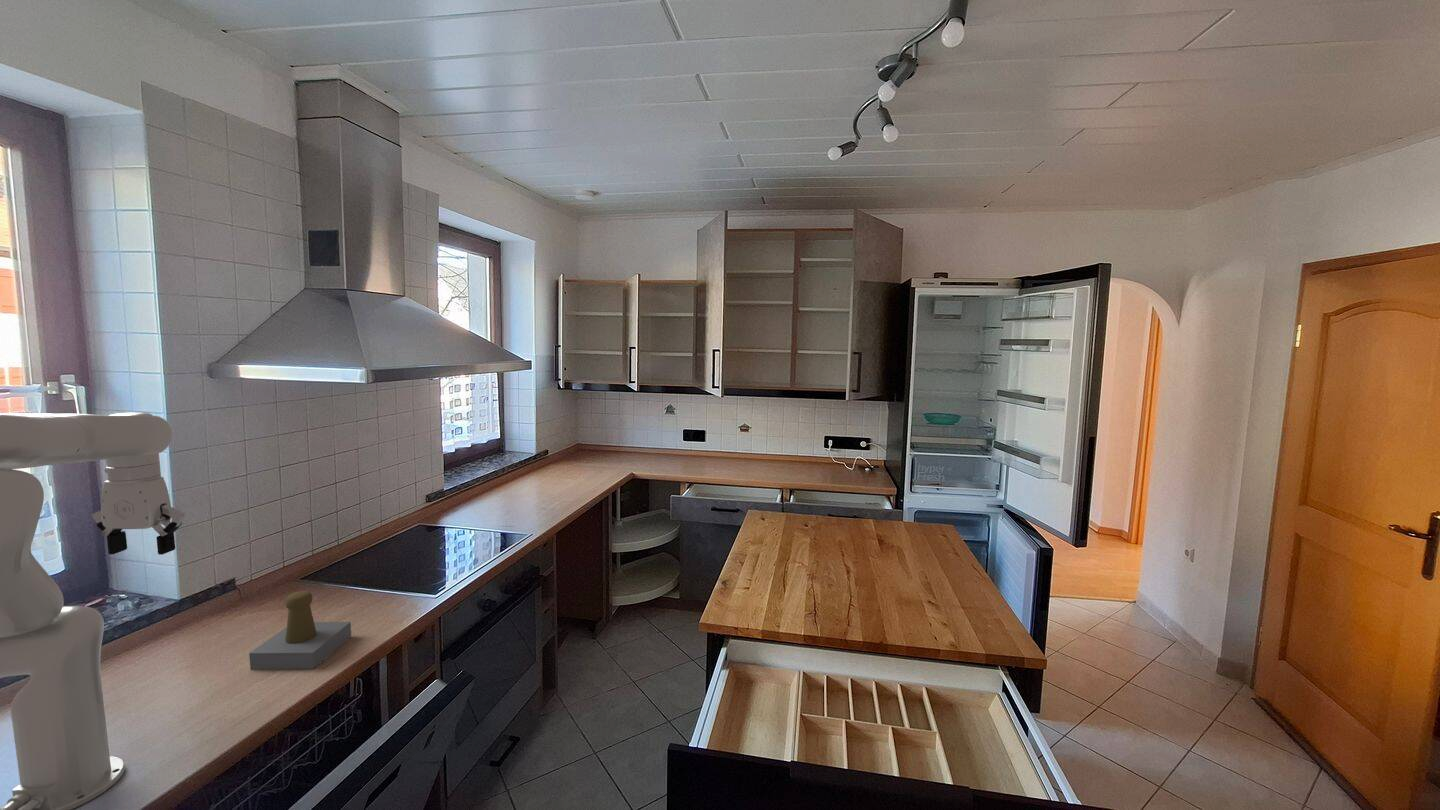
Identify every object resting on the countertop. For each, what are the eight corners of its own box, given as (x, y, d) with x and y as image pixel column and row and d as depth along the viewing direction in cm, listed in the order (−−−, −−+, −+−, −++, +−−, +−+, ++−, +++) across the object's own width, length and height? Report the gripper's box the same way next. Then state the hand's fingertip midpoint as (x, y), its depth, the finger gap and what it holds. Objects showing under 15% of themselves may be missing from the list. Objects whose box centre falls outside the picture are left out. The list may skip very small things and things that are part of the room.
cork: (312, 627, 136) (310, 585, 135) (320, 636, 133) (317, 593, 131) (282, 637, 132) (279, 593, 131) (288, 646, 128) (285, 601, 127)
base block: (313, 669, 126) (312, 652, 126) (250, 669, 126) (249, 653, 125) (351, 636, 140) (350, 621, 140) (294, 636, 139) (293, 622, 139)
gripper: (69, 476, 109) (79, 559, 111) (161, 477, 110) (169, 559, 112) (109, 468, 117) (117, 545, 119) (194, 468, 118) (201, 545, 120)
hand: (142, 552), depth 115 cm, fingers open, 9 cm apart
